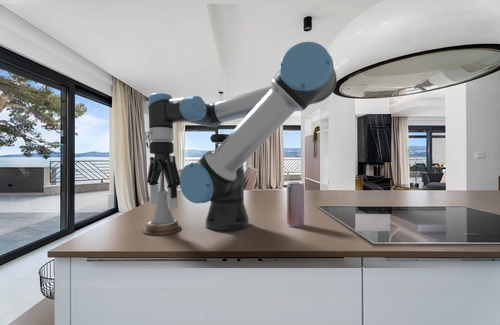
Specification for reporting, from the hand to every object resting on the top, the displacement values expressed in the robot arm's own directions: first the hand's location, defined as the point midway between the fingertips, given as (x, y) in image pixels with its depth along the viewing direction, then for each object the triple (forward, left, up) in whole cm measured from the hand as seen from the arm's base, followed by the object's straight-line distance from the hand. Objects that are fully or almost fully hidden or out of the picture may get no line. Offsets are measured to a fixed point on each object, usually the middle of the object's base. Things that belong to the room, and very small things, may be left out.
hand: (163, 206), depth 84 cm
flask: (0, 0, -5) cm, 6 cm away
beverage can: (-45, -6, -8) cm, 46 cm away
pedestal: (0, 0, -8) cm, 8 cm away
